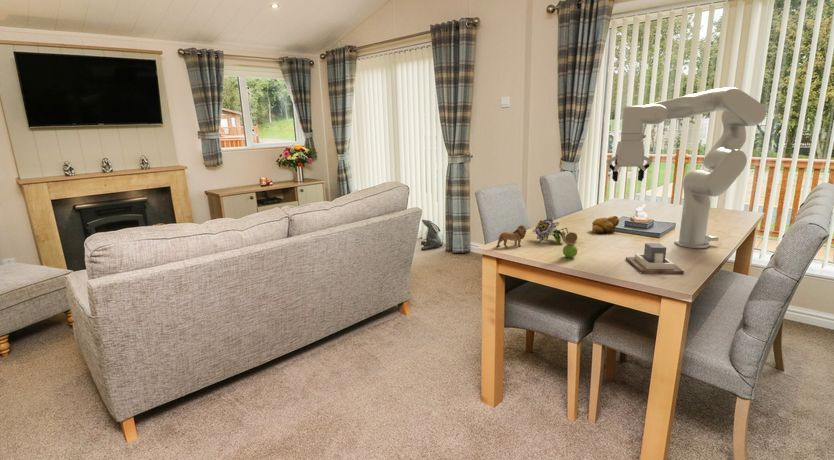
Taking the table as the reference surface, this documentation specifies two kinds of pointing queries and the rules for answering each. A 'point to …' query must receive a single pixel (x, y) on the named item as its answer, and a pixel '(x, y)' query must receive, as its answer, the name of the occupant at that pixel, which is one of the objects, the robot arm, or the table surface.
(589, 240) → the table surface
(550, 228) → the passion flower
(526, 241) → the table surface
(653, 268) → the brown piece
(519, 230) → the lion figurine
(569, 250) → the snail figurine
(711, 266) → the table surface
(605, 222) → the brown toad figurine
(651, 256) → the grey rectangular block
